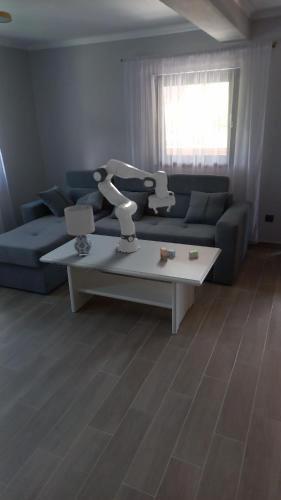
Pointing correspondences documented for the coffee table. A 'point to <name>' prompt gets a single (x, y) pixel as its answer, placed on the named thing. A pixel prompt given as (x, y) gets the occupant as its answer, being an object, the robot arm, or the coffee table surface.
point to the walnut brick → (163, 257)
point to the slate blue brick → (170, 253)
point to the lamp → (80, 226)
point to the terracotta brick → (163, 251)
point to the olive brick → (193, 254)
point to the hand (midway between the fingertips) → (162, 212)
